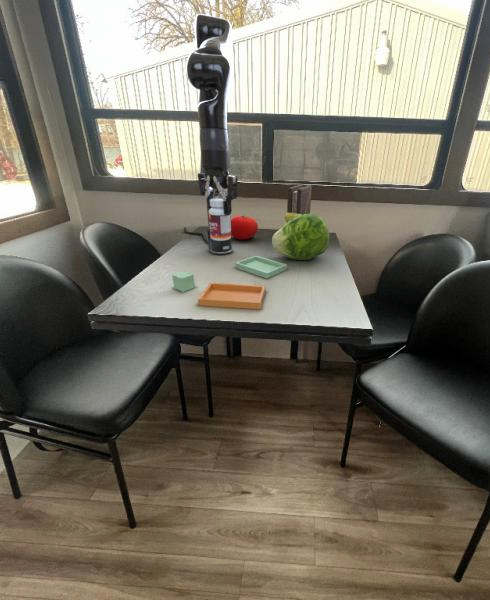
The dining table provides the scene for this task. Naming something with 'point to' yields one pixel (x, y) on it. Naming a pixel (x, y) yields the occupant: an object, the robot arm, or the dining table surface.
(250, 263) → the sage tray
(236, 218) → the tomato
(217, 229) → the pill bottle
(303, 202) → the book
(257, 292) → the amber tray
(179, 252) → the dining table surface
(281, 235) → the lettuce
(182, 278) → the sage block
